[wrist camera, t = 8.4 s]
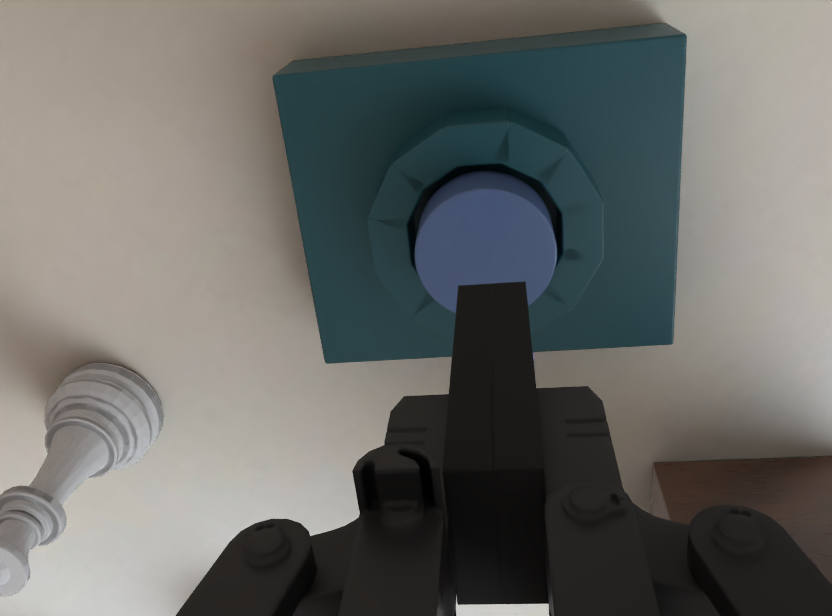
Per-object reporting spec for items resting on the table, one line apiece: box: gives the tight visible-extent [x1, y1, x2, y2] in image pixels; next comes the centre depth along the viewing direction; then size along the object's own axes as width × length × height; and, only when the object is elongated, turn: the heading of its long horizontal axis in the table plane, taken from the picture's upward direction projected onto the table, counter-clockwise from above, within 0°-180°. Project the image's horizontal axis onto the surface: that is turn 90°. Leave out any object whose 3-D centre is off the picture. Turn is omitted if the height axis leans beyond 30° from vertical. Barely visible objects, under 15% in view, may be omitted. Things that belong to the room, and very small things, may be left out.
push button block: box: [273, 23, 687, 363], centre depth 25 cm, size 12×10×4 cm
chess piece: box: [0, 363, 163, 597], centre depth 28 cm, size 4×4×10 cm
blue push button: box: [414, 171, 557, 313], centre depth 23 cm, size 4×4×2 cm
